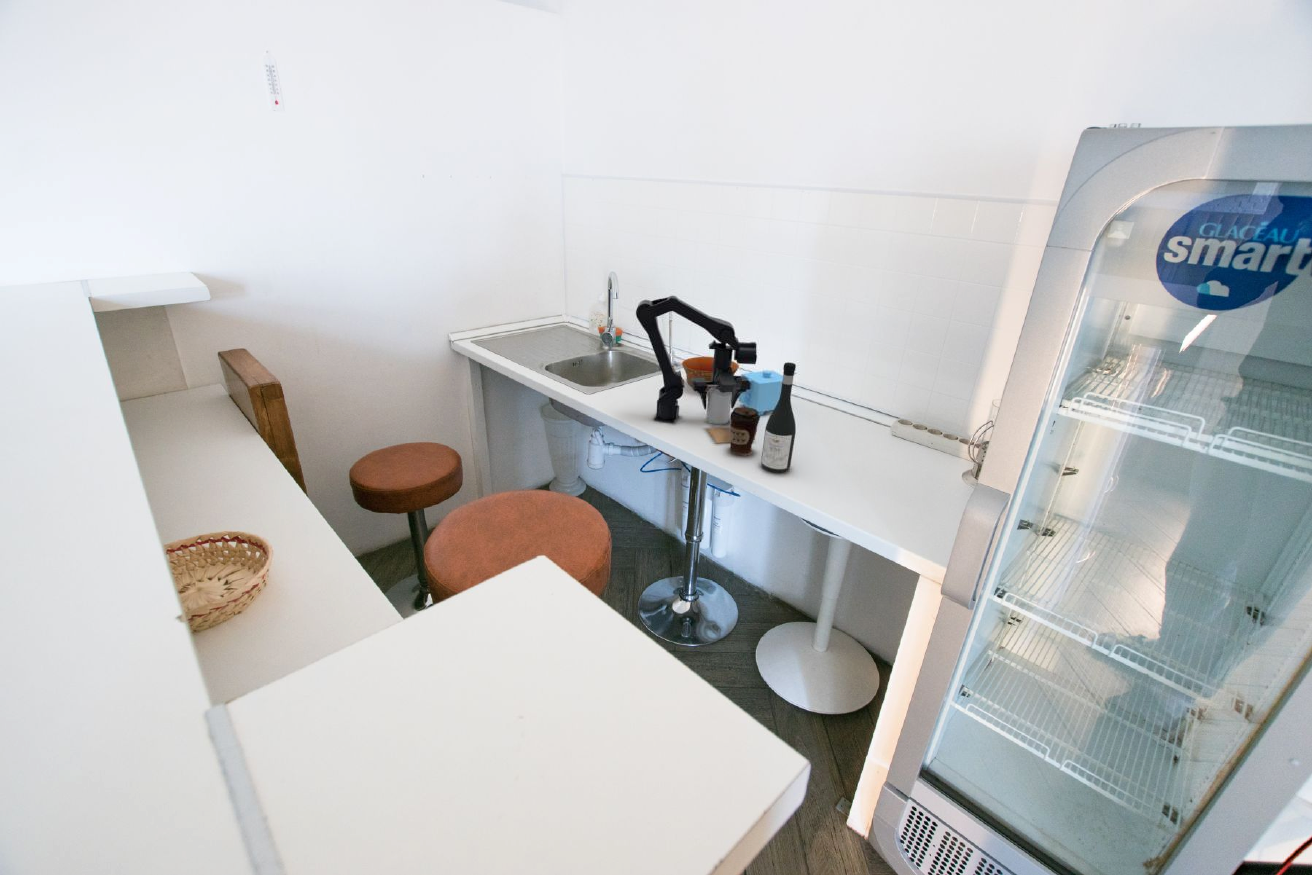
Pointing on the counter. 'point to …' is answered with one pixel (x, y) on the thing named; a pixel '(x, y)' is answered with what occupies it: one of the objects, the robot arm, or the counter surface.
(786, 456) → the wine bottle
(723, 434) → the coaster
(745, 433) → the coffee cup
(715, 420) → the can
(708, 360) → the bowl
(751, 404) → the teapot
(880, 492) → the counter surface
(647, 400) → the counter surface
